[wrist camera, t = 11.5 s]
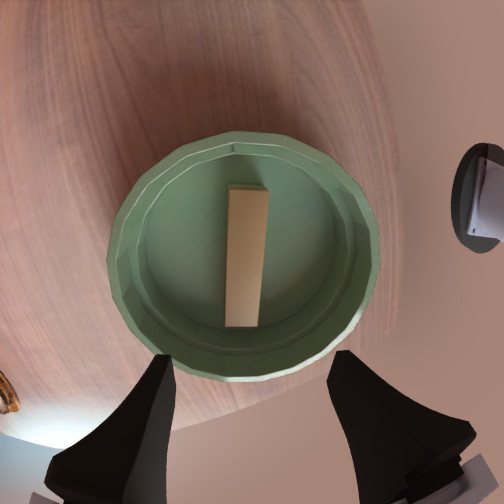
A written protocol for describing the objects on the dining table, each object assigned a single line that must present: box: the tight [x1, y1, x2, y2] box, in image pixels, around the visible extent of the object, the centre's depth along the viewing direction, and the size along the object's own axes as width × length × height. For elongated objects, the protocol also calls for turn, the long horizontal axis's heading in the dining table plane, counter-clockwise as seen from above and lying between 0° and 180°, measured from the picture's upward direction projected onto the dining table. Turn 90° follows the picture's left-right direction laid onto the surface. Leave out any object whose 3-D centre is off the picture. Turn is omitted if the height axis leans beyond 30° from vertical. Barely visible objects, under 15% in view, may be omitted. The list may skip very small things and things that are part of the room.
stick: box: [224, 183, 269, 327], centre depth 18 cm, size 2×9×2 cm, turn 176°
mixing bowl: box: [106, 131, 380, 382], centre depth 17 cm, size 15×15×5 cm
